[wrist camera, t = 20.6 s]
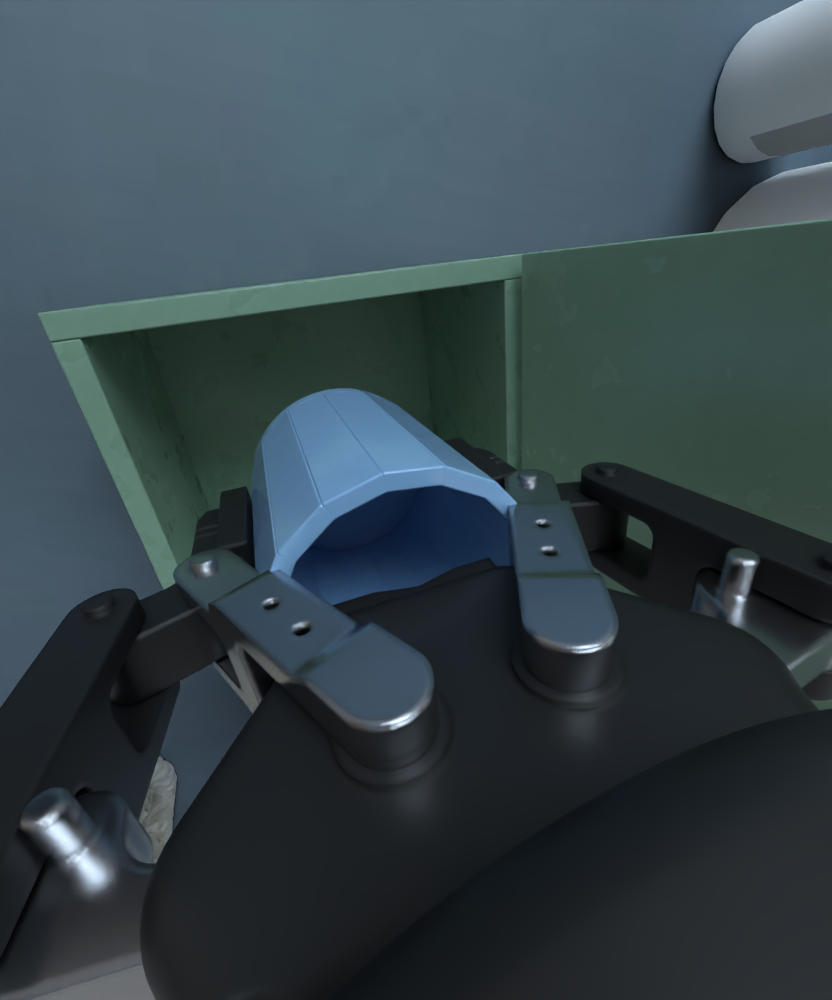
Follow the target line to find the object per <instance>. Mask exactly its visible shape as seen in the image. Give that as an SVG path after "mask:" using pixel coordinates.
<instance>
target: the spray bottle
mask: <svg viewBox="0 0 832 1000" xmlns="http://www.w3.org/2000/svg"><path fill="white" fill-rule="evenodd" d="M714 128H715V132H716V135H717V139H718V142H719V145H720V147H721V148H722V149H723V151H724V152H725V154H726V155H727V156H728V157H730V158H732V159H733V160H735V161H737V162H740V163H754V162H758V161H762V160H766V159H770V158H775V157H779V156H783V155H787V154H791V153H796V152H800V151H804V150H808V149H812V148H816V147H821V146H825V145H829V144H832V0H803V1H801V2H799V3H797V4H795V5H793V6H791V7H789V8H787V9H785V10H783V11H781V12H779V13H777V14H775V15H773V16H771V17H769V18H767V19H765V20H763V21H761V22H759V23H758V24H756V25H754V26H753V27H752V28H751V29H750V30H749V31H748V32H747V33H746V34H745V35H744V36H743V37H742V38H741V39H740V40H739V42H738V43H737V44H736V46H735V47H734V49H733V51H732V52H731V54H730V56H729V57H728V59H727V61H726V62H725V65H724V68H723V71H722V73H721V76H720V79H719V82H718V85H717V91H716V97H715V103H714Z"/></svg>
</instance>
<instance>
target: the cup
mask: <svg viewBox="0 0 832 1000" xmlns="http://www.w3.org/2000/svg"><path fill="white" fill-rule="evenodd" d="M251 491H252V512H253V533H254V555H255V569H256V570H257V571H259V575H260V574H262V573H264V572H266V571H267V570H269V571H275V570H279V569H280V570H281V571H283V572H284V573H286V574H287V575H289V576H290V577H291V578H293V579H294V580H296V581H297V582H299V583H300V584H302V585H303V586H305V587H306V588H308V589H309V590H311V591H312V592H313V593H315V594H316V595H318V596H319V597H321V598H322V599H324V600H325V601H327V602H328V603H330V604H331V605H334V604H337V603H341V602H344V601H347V600H351V599H354V598H357V597H360V596H364V595H367V594H370V593H374V592H380V591H388V590H395V589H403V588H410V587H416V586H420V585H422V584H424V583H426V582H428V581H430V580H431V579H433V578H435V577H437V576H439V575H441V574H443V573H445V572H447V571H449V570H451V569H453V568H455V567H459V566H462V565H465V564H469V563H472V562H475V561H478V560H482V559H485V558H488V557H489V558H490V559H491V560H492V561H493V563H494V564H495V565H496V566H509V551H508V522H509V506H510V505H514V504H517V502H516V501H515V500H514V499H513V498H512V497H511V496H510V495H509V494H508V493H507V492H506V491H505V490H504V489H503V488H502V487H501V486H500V485H499V484H498V483H497V482H496V481H495V480H493V479H492V478H491V477H489V476H488V475H487V474H486V473H484V472H483V471H482V470H480V469H479V468H478V467H477V466H475V465H474V464H473V463H471V462H470V461H469V460H467V459H466V458H465V457H464V456H462V455H461V454H460V453H458V452H457V451H456V450H455V449H453V448H452V447H451V446H449V445H448V444H447V443H446V442H444V441H443V440H442V439H440V438H439V437H438V436H436V435H435V434H434V433H433V432H431V431H430V430H429V429H427V428H426V427H425V426H424V425H422V424H421V423H420V422H418V421H417V420H416V419H415V418H413V417H412V416H411V415H409V414H408V413H407V412H405V411H404V410H403V409H402V408H400V407H399V406H398V405H396V404H395V403H393V402H390V401H388V400H386V399H385V398H383V397H380V396H378V395H376V394H374V393H370V392H367V391H363V390H357V389H341V388H339V389H330V390H325V391H321V392H317V393H313V394H311V395H309V396H306V397H304V398H302V399H300V400H298V401H296V402H295V403H293V404H291V405H290V406H289V407H287V408H286V409H285V410H283V411H282V412H281V413H280V414H279V415H278V416H277V417H276V418H275V419H274V420H273V421H272V422H271V424H270V425H269V426H268V428H267V429H266V430H265V432H264V434H263V436H262V438H261V439H260V441H259V444H258V447H257V449H256V452H255V456H254V461H253V469H252V472H251Z"/></svg>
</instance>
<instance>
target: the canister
mask: <svg viewBox="0 0 832 1000" xmlns="http://www.w3.org/2000/svg"><path fill="white" fill-rule="evenodd" d="M830 218H832V162H828V163H823V164H818V165H813V166H809V167H804V168H799V169H794V170H789V171H785V172H782V173H780V174H777V175H775V176H773V177H771V178H769V179H767V180H765V181H763V182H761V183H759V184H757V185H755V186H753V187H752V188H751V189H750V190H749V191H748V192H747V193H746V194H745V195H744V196H743V197H742V198H741V199H739V200H738V201H737V202H736V203H735V204H734V205H733V206H732V207H731V208H730V209H729V210H728V211H727V212H726V213H725V214H724V216H723V217H722V219H721V220H720V222H719V223H718V225H717V226H716V228H715V229H714V231H713V232H716V231H725V230H734V229H743V228H751V227H760V226H769V225H778V224H786V223H795V222H804V221H813V220H822V219H830Z"/></svg>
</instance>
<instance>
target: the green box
mask: <svg viewBox="0 0 832 1000" xmlns="http://www.w3.org/2000/svg"><path fill="white" fill-rule="evenodd" d="M38 317H39V319H40V321H41V324H42V326H43V328H44V330H45V332H46V335H47V337H48V339H49V341H50V342H53V343H51V345H52V347H53V350H54V352H55V354H56V356H57V358H58V361H59V363H60V365H61V367H62V369H63V371H64V374H65V376H66V378H67V380H68V382H69V385H70V387H71V389H72V391H73V393H74V395H75V398H76V400H77V402H78V404H79V406H80V409H81V411H82V413H83V415H84V417H85V420H86V422H87V424H88V426H89V428H90V430H91V433H92V435H93V437H94V439H95V441H96V444H97V446H98V448H99V450H100V452H101V454H102V457H103V459H104V461H105V463H106V465H107V468H108V470H109V472H110V474H111V476H112V478H113V481H114V483H115V485H116V487H117V489H118V492H119V494H120V496H121V498H122V500H123V502H124V505H125V507H126V509H127V511H128V513H129V516H130V518H131V520H132V522H133V524H134V527H135V529H136V531H137V533H138V535H139V537H140V540H141V542H142V544H143V546H144V548H145V551H146V553H147V555H148V557H149V559H150V561H151V564H152V566H153V568H154V570H155V572H156V575H157V577H158V579H159V581H160V583H161V585H162V588H163V590H164V589H166V588H168V587H170V586H171V585H173V584H174V583H176V582H175V580H174V578H173V572H174V570H175V568H176V567H177V566H178V565H179V564H180V563H181V562H182V561H184V560H185V559H187V558H188V557H190V556H191V553H192V548H193V542H194V539H195V538H194V537H195V532H196V526H197V521H198V520H199V519H200V518H201V517H202V516H203V514H204V513H205V512H206V511H210V510H214V509H218V508H219V505H220V495H221V492H222V491H226V490H231V489H235V488H240V487H244V486H246V487H247V489H248V491H249V494H250V497H251V501H252V491H251V472H252V469H253V461H254V456H255V452H256V449H257V447H258V444H259V441H260V439H261V438H262V436H263V434H264V432H265V430H266V429H267V428H268V426H269V425H270V424H271V422H272V421H273V420H274V419H275V418H276V417H277V416H278V415H279V414H280V413H281V412H282V411H283V410H285V409H286V408H287V407H289V406H290V405H291V404H293V403H295V402H296V401H298V400H300V399H302V398H304V397H306V396H309V395H311V394H313V393H317V392H321V391H325V390H330V389H339V388H341V389H357V390H363V391H367V392H370V393H374V394H376V395H378V396H380V397H383V398H385V399H386V400H388V401H390V402H393V403H395V404H396V405H398V406H399V407H400V408H402V409H403V410H404V411H405V412H407V413H408V414H409V415H411V416H412V417H413V418H415V419H416V420H417V421H418V422H420V423H421V424H422V425H424V426H425V427H426V428H427V429H429V430H430V431H431V432H433V433H434V434H435V435H436V436H438V437H439V438H440V439H442V440H443V441H446V440H451V439H455V438H461V439H462V440H464V441H465V442H467V443H468V444H470V445H471V446H472V447H474V448H480V449H484V450H488V451H490V452H492V453H493V454H495V455H496V456H497V457H498V458H501V459H502V460H504V462H507V463H508V464H509V465H511V466H512V467H514V468H515V469H517V470H522V254H515V255H506V256H497V257H488V258H479V259H470V260H461V261H452V262H443V263H434V264H425V265H417V266H409V267H401V268H392V269H384V270H376V271H368V272H360V273H351V274H343V275H335V276H327V277H319V278H310V279H302V280H294V281H286V282H277V283H269V284H261V285H253V286H245V287H236V288H228V289H220V290H212V291H203V292H195V293H187V294H179V295H171V296H162V297H154V298H146V299H138V300H129V301H121V302H114V303H106V304H99V305H92V306H84V307H77V308H70V309H63V310H55V311H48V312H41V313H38Z"/></svg>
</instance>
